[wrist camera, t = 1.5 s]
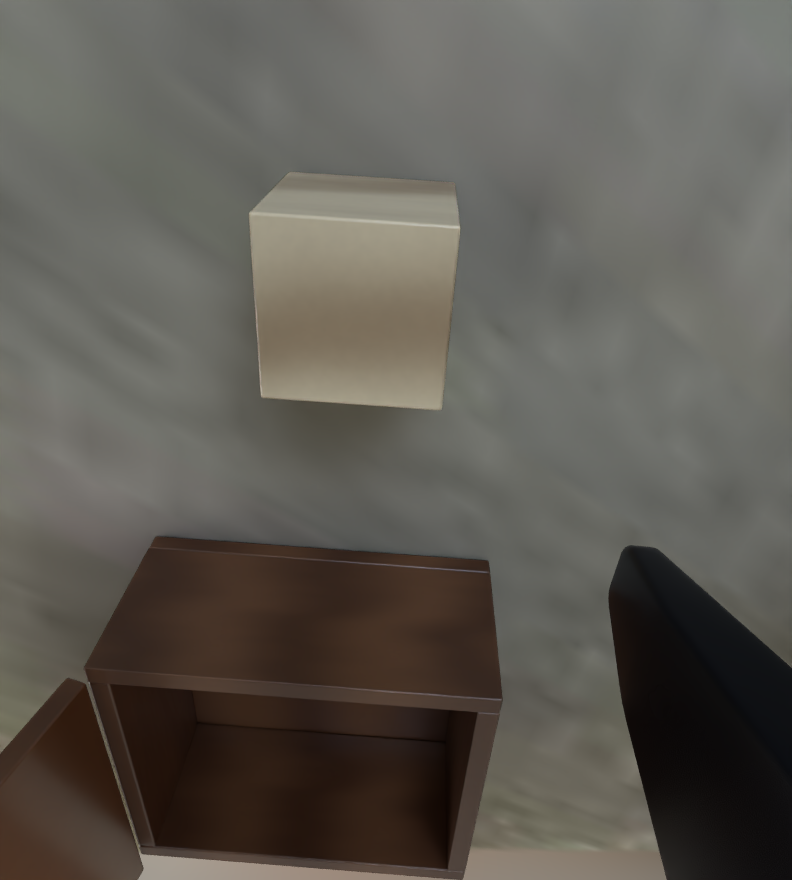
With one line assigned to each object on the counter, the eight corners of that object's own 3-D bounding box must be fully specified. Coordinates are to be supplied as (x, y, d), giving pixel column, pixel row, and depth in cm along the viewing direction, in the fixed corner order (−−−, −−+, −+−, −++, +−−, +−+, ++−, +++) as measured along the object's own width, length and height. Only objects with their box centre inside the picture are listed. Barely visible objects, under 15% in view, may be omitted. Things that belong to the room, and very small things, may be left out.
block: (287, 171, 18) (247, 212, 14) (455, 181, 18) (460, 225, 14) (293, 327, 20) (260, 399, 17) (440, 337, 20) (442, 411, 17)
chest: (489, 560, 25) (503, 700, 20) (458, 737, 31) (463, 881, 26) (155, 535, 25) (82, 668, 20) (189, 717, 32) (140, 855, 26)
